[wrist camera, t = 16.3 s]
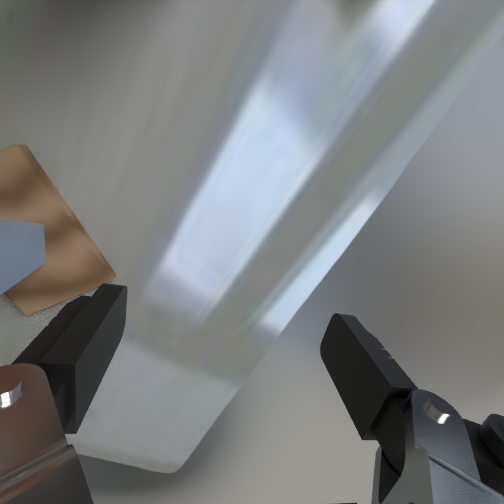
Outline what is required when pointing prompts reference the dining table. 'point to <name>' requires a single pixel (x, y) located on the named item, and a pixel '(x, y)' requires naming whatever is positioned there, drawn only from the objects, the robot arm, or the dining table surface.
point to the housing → (19, 250)
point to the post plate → (48, 235)
